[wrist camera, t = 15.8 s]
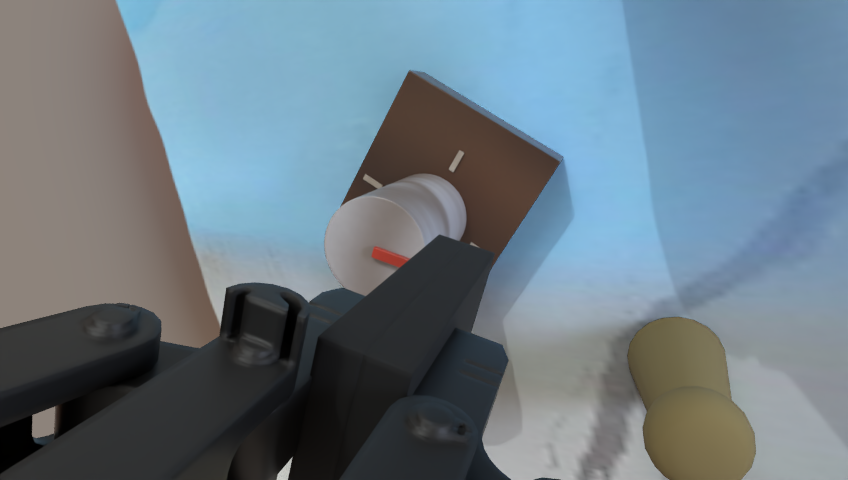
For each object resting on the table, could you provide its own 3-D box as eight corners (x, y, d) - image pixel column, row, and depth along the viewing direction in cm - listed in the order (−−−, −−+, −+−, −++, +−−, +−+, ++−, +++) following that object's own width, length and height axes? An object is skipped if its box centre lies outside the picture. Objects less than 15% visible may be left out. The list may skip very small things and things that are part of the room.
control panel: (423, 71, 38) (408, 69, 35) (563, 156, 36) (560, 162, 33) (342, 228, 42) (323, 238, 39) (464, 309, 41) (453, 325, 38)
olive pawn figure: (625, 395, 39) (633, 501, 29) (629, 313, 37) (638, 395, 27) (722, 405, 37) (767, 522, 27) (729, 320, 36) (780, 409, 26)
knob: (377, 240, 38) (312, 282, 30) (396, 162, 37) (333, 182, 28) (453, 268, 37) (408, 319, 29) (477, 188, 35) (436, 218, 27)
